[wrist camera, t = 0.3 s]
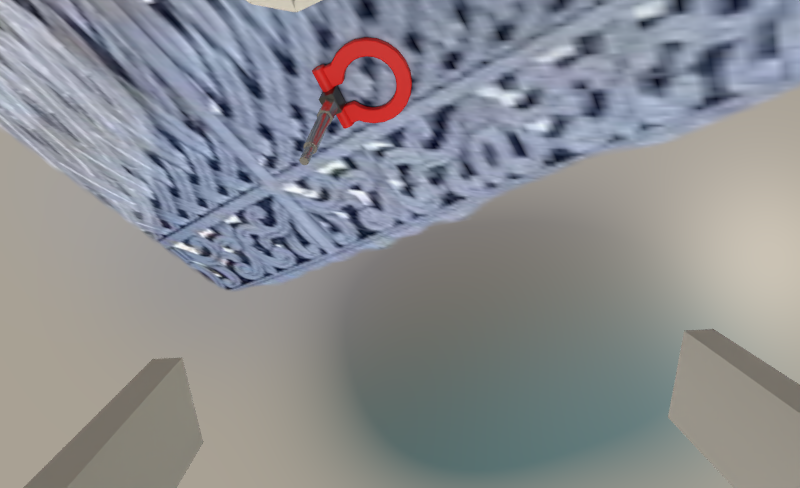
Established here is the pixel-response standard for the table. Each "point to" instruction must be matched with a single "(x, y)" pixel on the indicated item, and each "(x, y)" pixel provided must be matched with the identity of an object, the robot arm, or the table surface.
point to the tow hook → (353, 110)
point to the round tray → (285, 4)
